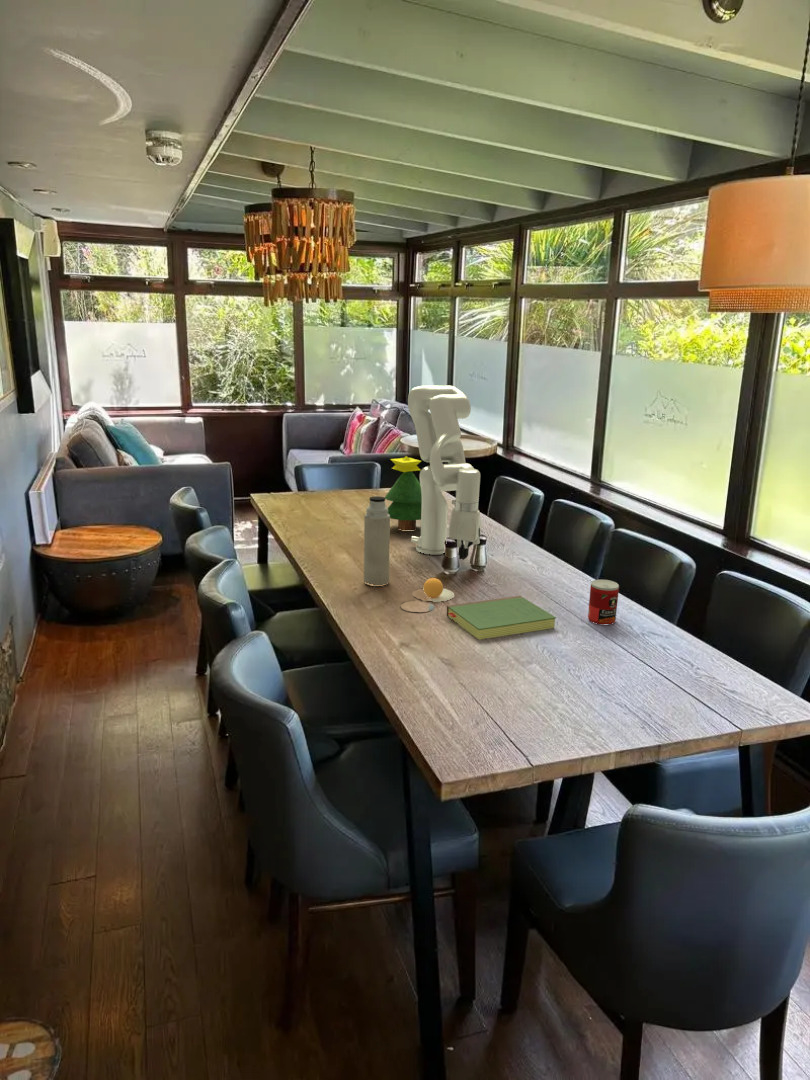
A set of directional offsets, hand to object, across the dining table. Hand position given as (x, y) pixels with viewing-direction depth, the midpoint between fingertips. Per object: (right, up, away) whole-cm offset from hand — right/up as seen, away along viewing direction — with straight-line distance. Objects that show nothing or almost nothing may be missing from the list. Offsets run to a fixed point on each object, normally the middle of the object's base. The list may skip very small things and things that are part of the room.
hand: (463, 558), depth 262 cm
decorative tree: (-19, +10, +51) cm, 56 cm away
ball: (-11, -8, -27) cm, 30 cm away
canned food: (+36, -17, -41) cm, 57 cm away
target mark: (-11, -11, -24) cm, 28 cm away
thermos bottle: (-29, -8, -14) cm, 33 cm away
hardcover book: (+7, -18, -44) cm, 48 cm away
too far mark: (-16, -14, -34) cm, 40 cm away
